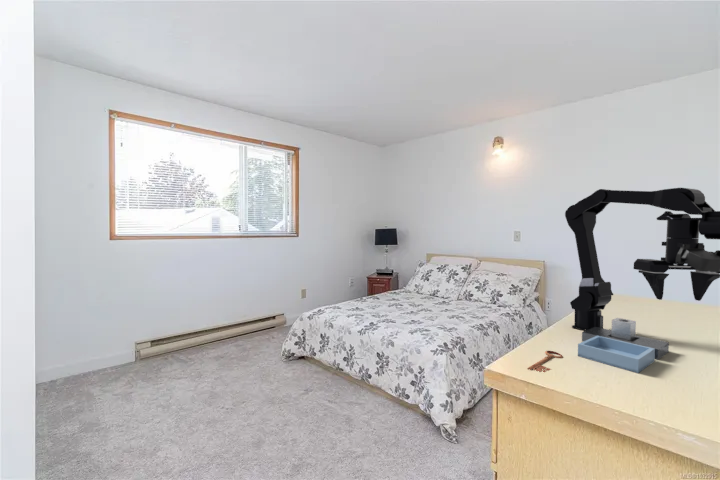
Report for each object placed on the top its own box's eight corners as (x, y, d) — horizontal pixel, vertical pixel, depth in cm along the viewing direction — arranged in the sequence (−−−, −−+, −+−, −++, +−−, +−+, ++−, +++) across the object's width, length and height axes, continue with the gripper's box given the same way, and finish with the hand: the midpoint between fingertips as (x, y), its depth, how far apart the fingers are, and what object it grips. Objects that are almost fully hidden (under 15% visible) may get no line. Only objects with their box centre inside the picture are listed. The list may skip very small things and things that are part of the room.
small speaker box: (611, 345, 86) (611, 319, 86) (616, 342, 88) (617, 317, 88) (629, 350, 83) (630, 323, 83) (635, 347, 85) (635, 320, 85)
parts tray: (577, 356, 79) (578, 343, 79) (597, 346, 85) (597, 335, 85) (638, 373, 69) (638, 359, 69) (654, 361, 76) (654, 348, 76)
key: (547, 379, 68) (573, 360, 77) (548, 375, 68) (574, 357, 77) (520, 367, 72) (547, 351, 82) (520, 363, 72) (548, 348, 82)
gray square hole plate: (581, 340, 90) (582, 332, 90) (595, 335, 95) (595, 326, 95) (657, 359, 76) (658, 349, 76) (668, 351, 81) (668, 342, 81)
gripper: (672, 239, 73) (668, 307, 73) (760, 240, 72) (755, 309, 72) (633, 237, 84) (630, 296, 85) (708, 238, 83) (705, 298, 83)
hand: (678, 299), depth 81 cm, fingers open, 9 cm apart
